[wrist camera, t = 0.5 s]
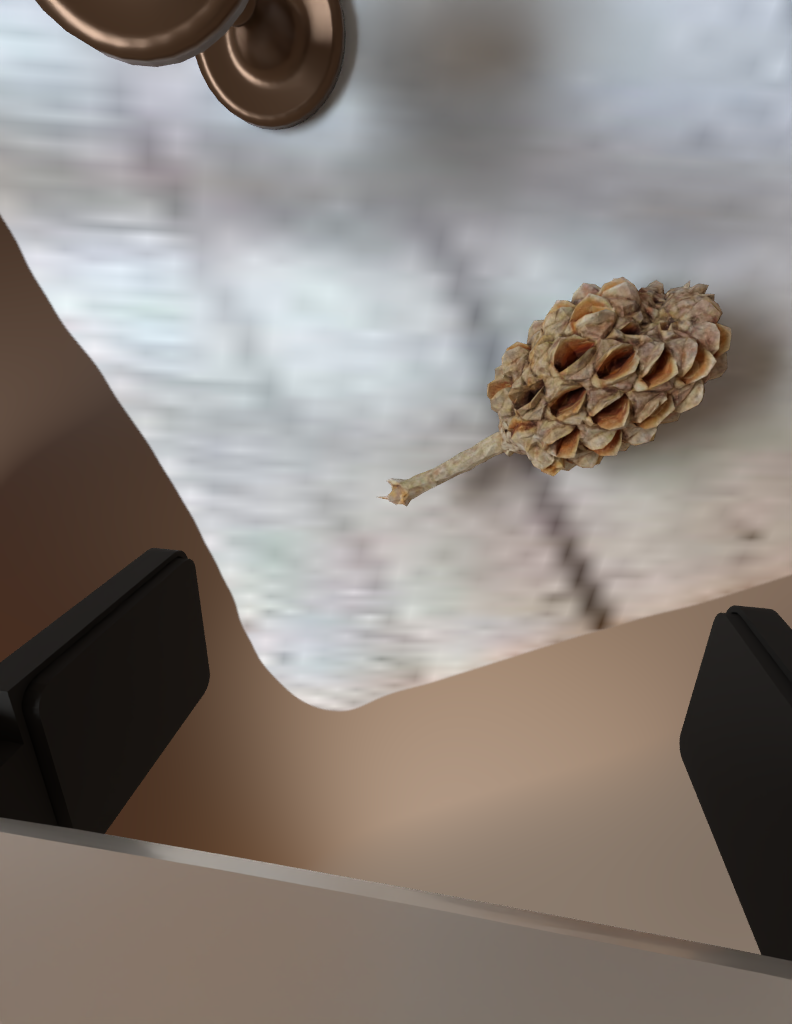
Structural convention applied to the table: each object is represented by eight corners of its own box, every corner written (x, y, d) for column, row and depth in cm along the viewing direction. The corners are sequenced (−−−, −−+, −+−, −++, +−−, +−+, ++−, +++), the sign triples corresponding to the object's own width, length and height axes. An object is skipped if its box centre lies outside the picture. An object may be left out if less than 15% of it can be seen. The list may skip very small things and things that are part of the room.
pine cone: (638, 228, 33) (695, 204, 23) (719, 357, 34) (801, 382, 25) (366, 442, 40) (330, 486, 31) (444, 538, 42) (431, 606, 33)
